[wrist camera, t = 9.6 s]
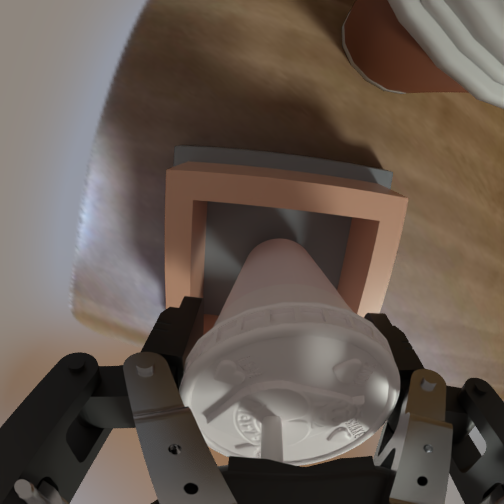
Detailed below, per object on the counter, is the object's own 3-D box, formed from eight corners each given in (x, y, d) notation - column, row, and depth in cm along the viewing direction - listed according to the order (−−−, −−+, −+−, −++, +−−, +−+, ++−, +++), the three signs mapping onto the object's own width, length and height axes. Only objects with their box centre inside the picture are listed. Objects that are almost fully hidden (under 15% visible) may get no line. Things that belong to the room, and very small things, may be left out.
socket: (383, 168, 17) (426, 183, 12) (345, 337, 22) (363, 390, 16) (181, 145, 17) (149, 150, 12) (178, 322, 21) (157, 374, 16)
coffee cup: (440, 135, 16) (591, 161, 5) (305, 88, 16) (379, 13, 5) (455, 20, 13) (576, -24, 2) (330, -33, 13) (388, -152, 1)
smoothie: (209, 219, 16) (66, 490, 3) (336, 206, 15) (521, 448, 2) (228, 326, 18) (188, 572, 5) (338, 315, 18) (409, 554, 5)
